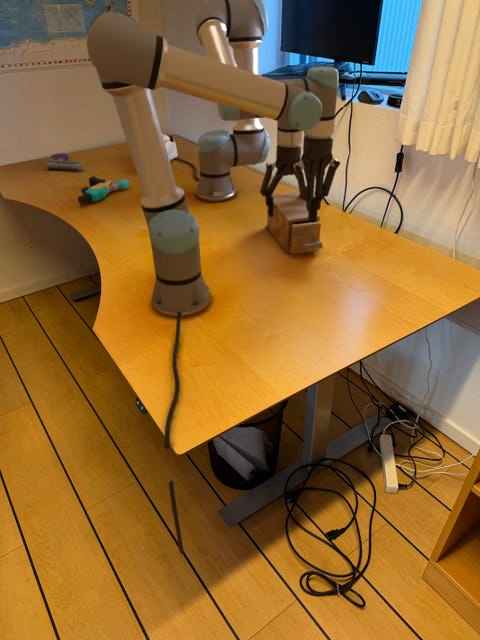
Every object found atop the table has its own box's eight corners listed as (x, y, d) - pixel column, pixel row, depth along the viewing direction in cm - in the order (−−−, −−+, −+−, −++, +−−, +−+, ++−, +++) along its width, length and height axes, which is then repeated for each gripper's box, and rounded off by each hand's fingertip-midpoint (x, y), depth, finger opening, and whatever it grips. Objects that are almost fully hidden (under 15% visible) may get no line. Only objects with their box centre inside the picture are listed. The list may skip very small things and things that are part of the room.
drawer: (326, 260, 141) (329, 231, 136) (298, 264, 139) (300, 235, 134) (296, 225, 161) (298, 199, 156) (272, 228, 159) (272, 202, 154)
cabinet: (316, 249, 149) (319, 216, 142) (286, 253, 147) (288, 220, 140) (294, 222, 165) (296, 192, 158) (267, 226, 163) (267, 195, 156)
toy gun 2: (55, 191, 179) (85, 198, 173) (101, 171, 197) (130, 177, 192) (57, 202, 181) (87, 209, 176) (103, 182, 200) (131, 187, 194)
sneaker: (133, 173, 208) (129, 144, 201) (161, 153, 230) (158, 127, 223) (155, 175, 205) (151, 146, 198) (180, 155, 227) (178, 129, 220)
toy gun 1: (94, 162, 221) (79, 173, 209) (58, 159, 224) (41, 170, 212) (93, 153, 219) (78, 164, 207) (56, 151, 222) (39, 161, 210)
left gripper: (336, 129, 126) (328, 212, 140) (289, 133, 124) (286, 218, 137) (348, 136, 120) (338, 223, 134) (299, 141, 118) (295, 229, 132)
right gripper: (319, 137, 149) (313, 205, 162) (249, 143, 144) (249, 212, 157) (328, 144, 143) (322, 213, 156) (256, 151, 139) (256, 221, 152)
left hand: (312, 220), depth 136 cm, fingers closed
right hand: (285, 213), depth 157 cm, fingers closed on cabinet, 10 cm apart
